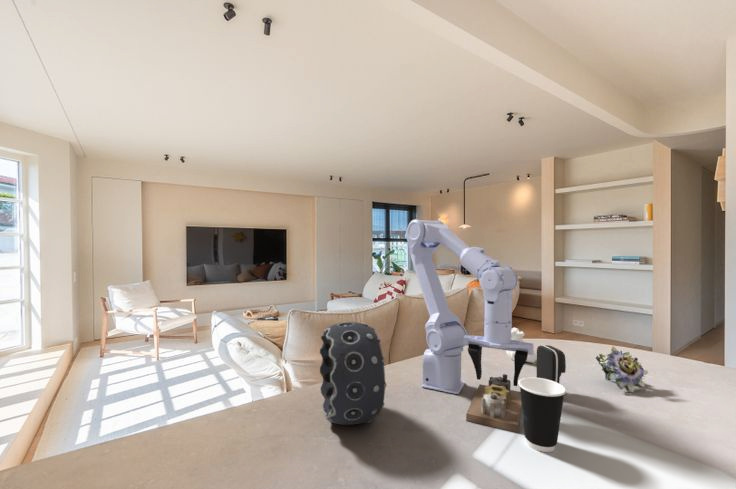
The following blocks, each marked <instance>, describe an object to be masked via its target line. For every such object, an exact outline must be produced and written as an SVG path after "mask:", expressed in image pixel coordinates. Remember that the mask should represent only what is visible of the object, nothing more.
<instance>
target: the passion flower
mask: <svg viewBox="0 0 736 489" xmlns="http://www.w3.org/2000/svg"><path fill="white" fill-rule="evenodd" d="M610 351H611V352H610V353H608V354H607V355H606V354H603V353H599V355H596V357H595V359H596V361H597V362H598V364H599V365H600V366H601V370H602V371H603V373H604V377H605V380H606V381H614V380H615V384H616V385H617V387H618V388H619V389H620V390H622V389H625V390H626V391H627V392H629V393H631V394H633V393H634V392H635V386H636V385H637V386H639V387H642V388H645V382H644V381H643V380H644V378H643V377H645V376H646V375H647V374H649V371H648V369H647V370H646V369H644V368H643V366H642V362H641V361H638V360H639V359H638V357H633V356H632V355H631V353H630V351H626V352H623V351H622V350H617V348H616V347H615V346H613V345H612V346H611V349H610ZM606 356H607V357H606ZM605 357H606V358H605ZM604 358H605V359H604Z"/></svg>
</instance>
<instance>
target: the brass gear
mask: <svg viewBox="0 0 736 489" xmlns="http://www.w3.org/2000/svg"><path fill="white" fill-rule="evenodd" d="M487 386H488V387H487ZM487 386H486V387H485V394H493V393H495V394H497V395H499V396H501V397H505V398H506V405H509V391H508V390H507V389H506V387H504V386H502V387H501V386H497V385H494V384H491V386H489V385H487ZM495 390H498V391H495Z"/></svg>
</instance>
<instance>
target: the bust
mask: <svg viewBox="0 0 736 489" xmlns="http://www.w3.org/2000/svg"><path fill="white" fill-rule="evenodd" d="M524 336H526V335H525V333H524V331H523V330H522V331H520V329H519V328H517V327H512V335H511V339H512V340H517V341H521V342H525V341H524V340H523V338H524ZM505 352H506V353H505V354H507V356H508V357H509V358H510V359H511V360H512V361H514V355H515V351H508V350H505ZM536 359H537V352H535V349H533V355H530V354H528V356H527V360H526V362H525V363H531V364H532V363H535V362H536Z"/></svg>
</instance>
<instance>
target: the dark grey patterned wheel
mask: <svg viewBox="0 0 736 489" xmlns="http://www.w3.org/2000/svg"><path fill="white" fill-rule="evenodd" d="M322 331H323V332H322V334H321V335H320V336H321V337H320V339H321V341H322V344H321V346H320V348H319V354H320V355H321V358H322V360H321V364H320V366H319V374H320V375H321V377H322V383H321V385H320V387H319V389H320V394H321V395H322V396H323V398H324V401H323V404H322V411H324V412H325V413H326V414H325V415H324V416H325V417H324V418H325V419H326V420H327V421H328V422H331V423H333V424H337V425H342V426H344V425H346V426H347V425H359V424H363V423H370V422H372V421H373V419H374V418H375V417H376V416H379V415H380V414H381V412H382V409H383V407H384V406H385V394H386V387H387V383H386V370H385V363H386V360H385V358H384V355H383V349H382V344H381V338H379V336H378V334H377V332H376V329H375V327H373V326H370V325H368V324H367V323H366V322H356V321H345V322H344V321H343V322H339V323H338V322H337V323H335V324H332V325H330V326H328V327H326V328H325V329H323V330H322Z"/></svg>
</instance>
